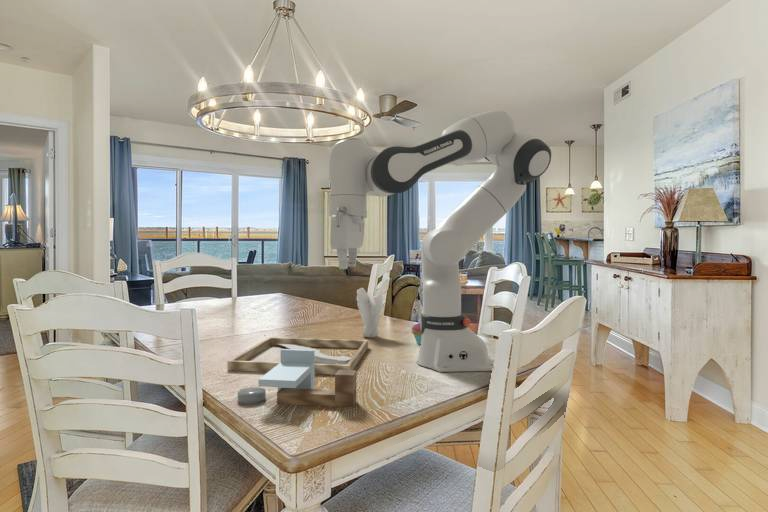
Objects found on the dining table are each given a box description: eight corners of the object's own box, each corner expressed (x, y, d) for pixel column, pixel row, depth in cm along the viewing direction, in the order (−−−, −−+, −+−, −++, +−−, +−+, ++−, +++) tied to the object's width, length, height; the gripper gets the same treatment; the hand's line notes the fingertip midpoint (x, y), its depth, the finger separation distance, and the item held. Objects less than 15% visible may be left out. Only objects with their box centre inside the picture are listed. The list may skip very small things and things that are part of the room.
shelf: (314, 389, 107) (314, 349, 106) (295, 411, 93) (295, 366, 93) (282, 387, 108) (282, 348, 107) (258, 409, 94) (258, 365, 94)
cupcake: (406, 343, 154) (406, 308, 154) (422, 339, 160) (422, 306, 160) (425, 347, 148) (425, 311, 148) (441, 343, 154) (441, 308, 154)
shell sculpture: (385, 335, 166) (385, 287, 165) (373, 340, 159) (373, 289, 158) (367, 333, 170) (367, 286, 170) (354, 337, 163) (354, 288, 163)
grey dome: (269, 396, 103) (269, 387, 103) (260, 405, 97) (260, 396, 97) (243, 395, 103) (243, 387, 103) (233, 405, 97) (233, 396, 97)
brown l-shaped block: (356, 401, 99) (356, 370, 98) (353, 407, 95) (353, 375, 95) (282, 398, 101) (282, 367, 101) (276, 404, 97) (276, 372, 97)
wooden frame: (368, 347, 148) (368, 340, 148) (349, 375, 118) (349, 365, 118) (269, 344, 152) (269, 337, 152) (227, 370, 122) (227, 361, 122)
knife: (357, 367, 127) (357, 358, 127) (335, 372, 122) (335, 363, 121) (291, 344, 155) (291, 336, 154) (271, 347, 150) (271, 340, 149)
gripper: (352, 205, 94) (352, 270, 95) (368, 211, 115) (368, 265, 115) (323, 205, 95) (323, 270, 96) (344, 211, 115) (344, 265, 116)
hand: (347, 267), depth 106 cm, fingers open, 8 cm apart
